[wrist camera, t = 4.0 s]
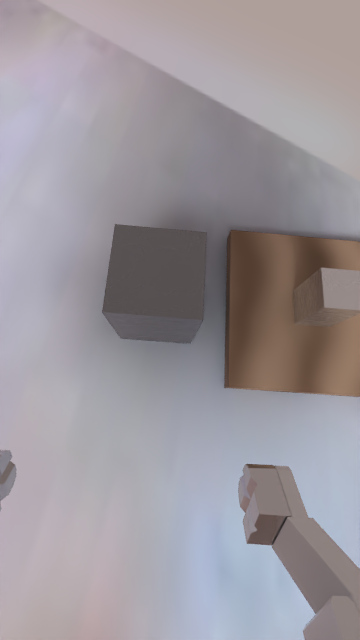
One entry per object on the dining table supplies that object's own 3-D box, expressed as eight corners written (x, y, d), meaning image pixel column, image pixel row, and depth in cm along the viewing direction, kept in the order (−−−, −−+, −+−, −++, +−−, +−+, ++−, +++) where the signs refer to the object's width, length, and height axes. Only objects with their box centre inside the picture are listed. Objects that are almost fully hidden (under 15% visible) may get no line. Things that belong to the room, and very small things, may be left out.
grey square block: (120, 338, 24) (102, 312, 16) (128, 273, 25) (115, 224, 18) (190, 343, 24) (202, 320, 17) (194, 279, 26) (206, 232, 18)
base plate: (224, 387, 23) (228, 387, 22) (227, 238, 27) (230, 229, 26) (387, 398, 24) (402, 398, 22) (367, 251, 28) (379, 243, 26)
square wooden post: (294, 324, 23) (324, 307, 19) (292, 290, 24) (321, 267, 20) (329, 326, 24) (366, 310, 19) (326, 293, 24) (361, 271, 20)
